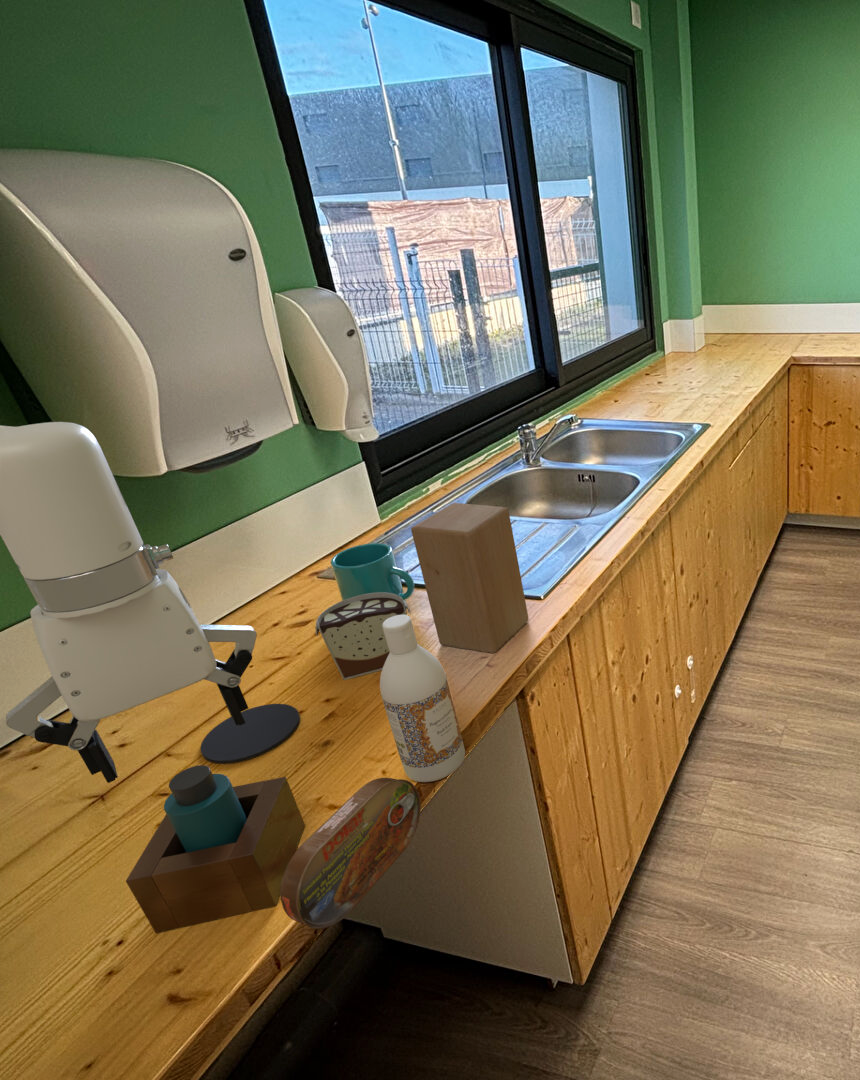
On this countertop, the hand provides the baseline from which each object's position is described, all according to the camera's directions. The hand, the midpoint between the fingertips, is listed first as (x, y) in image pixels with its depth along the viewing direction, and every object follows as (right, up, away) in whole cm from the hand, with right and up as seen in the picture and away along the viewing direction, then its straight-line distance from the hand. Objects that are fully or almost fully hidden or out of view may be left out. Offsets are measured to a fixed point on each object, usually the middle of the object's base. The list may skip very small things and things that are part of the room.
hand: (177, 744), depth 63 cm
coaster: (-11, -6, +27) cm, 30 cm away
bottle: (0, -15, +7) cm, 17 cm away
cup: (-6, +6, +53) cm, 54 cm away
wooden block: (+12, +4, +47) cm, 49 cm away
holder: (0, -15, +7) cm, 17 cm away
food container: (-2, 0, +41) cm, 41 cm away
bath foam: (+15, -8, +21) cm, 27 cm away
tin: (+14, -15, +6) cm, 22 cm away
